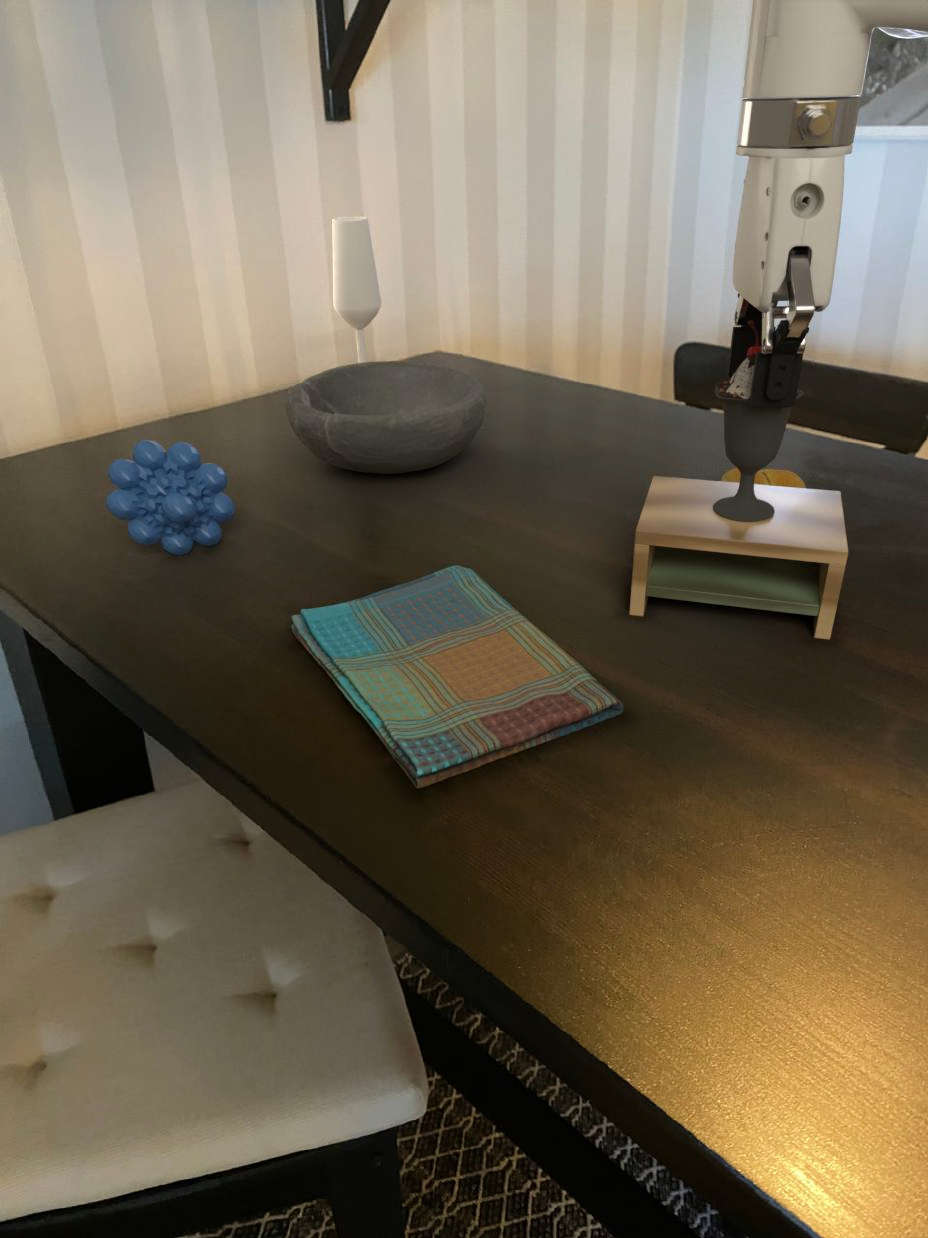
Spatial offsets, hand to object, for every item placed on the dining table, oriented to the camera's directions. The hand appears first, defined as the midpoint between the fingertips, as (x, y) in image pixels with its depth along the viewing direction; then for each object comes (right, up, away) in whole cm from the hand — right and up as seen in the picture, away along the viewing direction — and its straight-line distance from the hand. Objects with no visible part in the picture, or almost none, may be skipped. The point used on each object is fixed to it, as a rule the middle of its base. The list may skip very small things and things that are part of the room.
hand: (759, 389), depth 70 cm
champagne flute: (-37, +15, +63) cm, 74 cm away
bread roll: (+8, -6, +25) cm, 27 cm away
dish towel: (-24, -22, 0) cm, 33 cm away
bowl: (-31, 0, +38) cm, 50 cm away
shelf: (+1, -16, +9) cm, 18 cm away
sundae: (0, -9, +5) cm, 10 cm away
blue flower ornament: (-50, -12, +19) cm, 55 cm away
